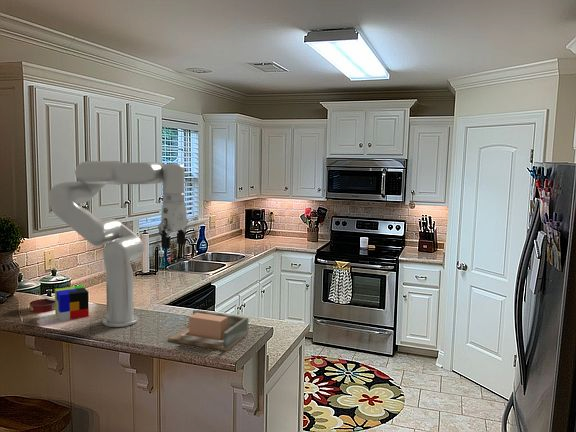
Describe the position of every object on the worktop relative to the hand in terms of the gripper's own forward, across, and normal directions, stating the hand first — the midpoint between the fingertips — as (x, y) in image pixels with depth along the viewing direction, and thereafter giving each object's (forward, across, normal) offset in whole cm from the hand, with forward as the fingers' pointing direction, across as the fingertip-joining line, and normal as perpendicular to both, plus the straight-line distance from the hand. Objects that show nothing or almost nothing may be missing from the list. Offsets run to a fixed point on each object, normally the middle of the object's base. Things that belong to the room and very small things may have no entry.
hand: (173, 245), depth 171 cm
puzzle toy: (+31, -4, +43) cm, 53 cm away
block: (+29, -6, -18) cm, 35 cm away
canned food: (+31, -3, +59) cm, 66 cm away
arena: (+30, -4, -17) cm, 35 cm away
